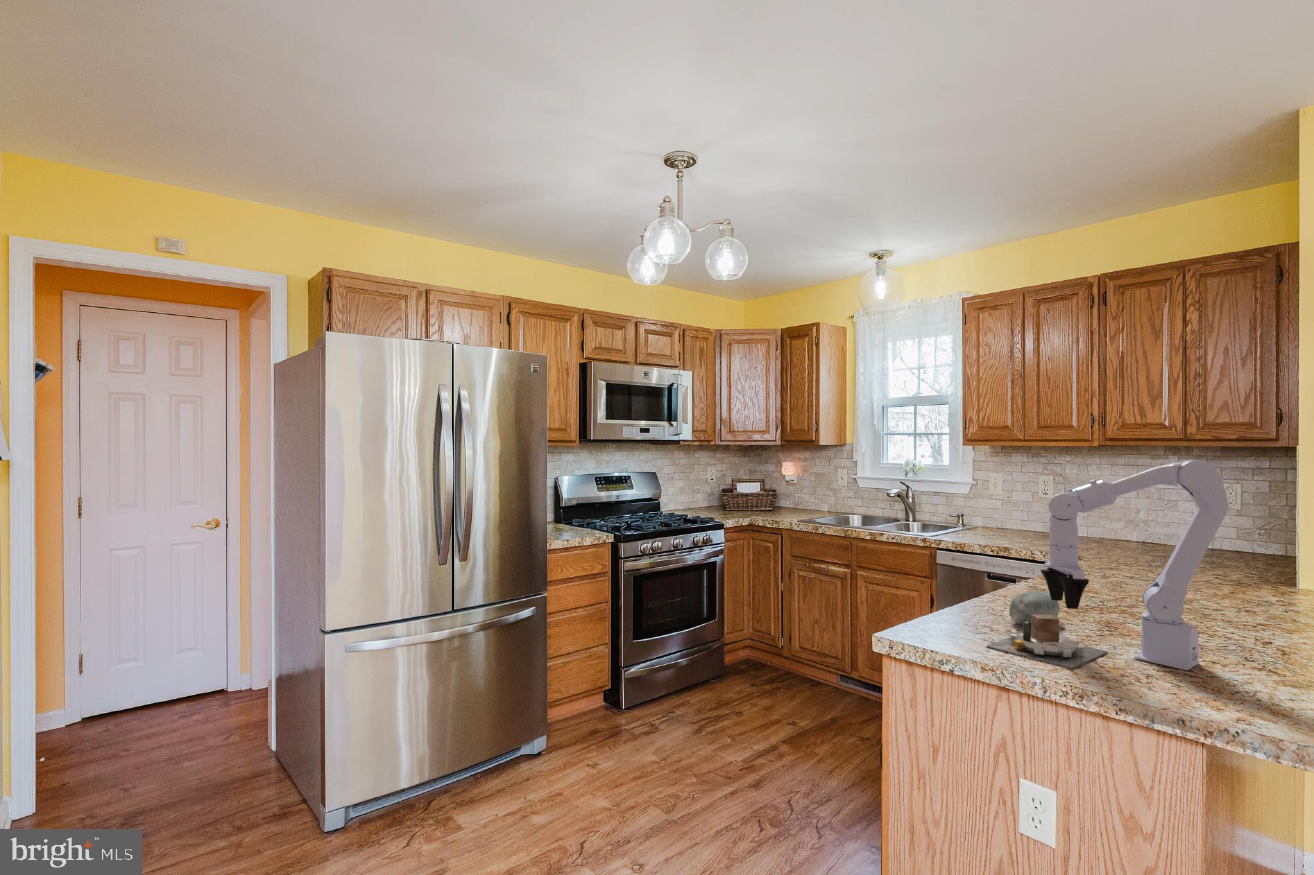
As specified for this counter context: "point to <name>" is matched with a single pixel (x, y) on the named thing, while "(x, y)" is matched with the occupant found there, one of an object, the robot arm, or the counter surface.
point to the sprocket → (1046, 644)
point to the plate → (1066, 662)
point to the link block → (1045, 627)
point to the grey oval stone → (1032, 606)
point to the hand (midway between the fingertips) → (1064, 604)
